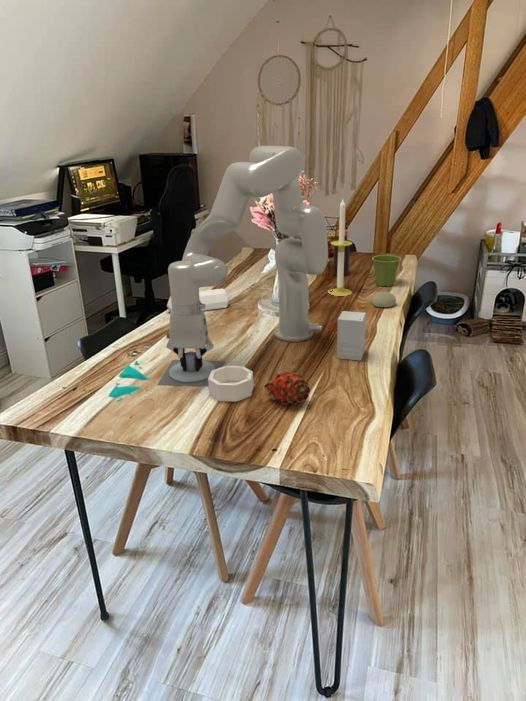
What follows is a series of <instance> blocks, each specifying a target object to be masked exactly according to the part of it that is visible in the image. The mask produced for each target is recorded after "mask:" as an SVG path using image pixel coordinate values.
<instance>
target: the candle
mask: <svg viewBox="0 0 526 701" xmlns="http://www.w3.org/2000/svg"><path fill="white" fill-rule="evenodd" d="M345 228H346V203H345V200H344V198H342V200H341V202H340V203H339V224H338V230H339V241H335V240H333V241H331V242H330V244H331V246H333V247H334V246H338V267H337V276H336V288H331V289H328V290H327V292H328V293H329V294H331V295H334V296H333V297H337V296H344V297H349V296H351V295H353V291H352V290H350V289H348V288H344V249H345V246H349V245H350V246H352V245H353V242H352V241H350V240H349V241H344V236H345ZM332 290H333V291H332ZM330 291H332V292H330ZM328 293H327V294H328ZM329 294H328V295H329ZM331 295H330V296H331ZM348 295H349V296H348Z"/></svg>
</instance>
